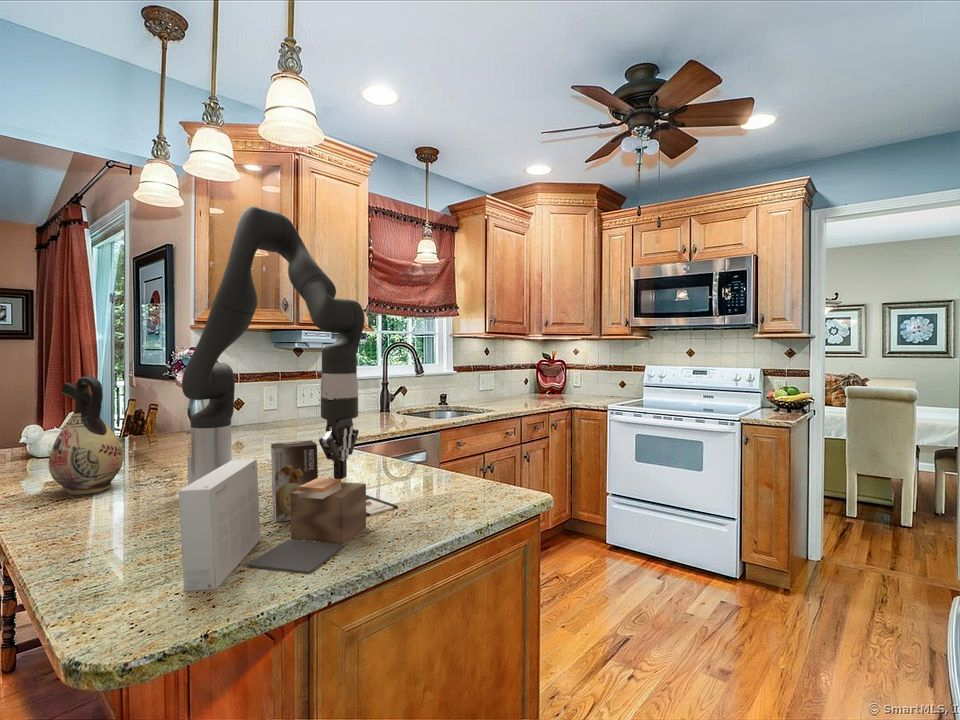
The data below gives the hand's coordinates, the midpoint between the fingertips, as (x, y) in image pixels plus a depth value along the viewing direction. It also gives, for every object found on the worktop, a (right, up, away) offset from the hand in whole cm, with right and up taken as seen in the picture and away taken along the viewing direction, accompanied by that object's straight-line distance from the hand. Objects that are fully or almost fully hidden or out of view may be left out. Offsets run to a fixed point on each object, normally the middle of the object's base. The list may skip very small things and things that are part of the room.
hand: (340, 478), depth 109 cm
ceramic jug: (-72, -10, +27) cm, 77 cm away
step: (-1, -10, -4) cm, 11 cm away
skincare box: (-15, -11, -18) cm, 26 cm away
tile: (-2, -1, -7) cm, 8 cm away
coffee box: (-12, -10, +7) cm, 17 cm away
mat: (-3, -11, -15) cm, 19 cm away
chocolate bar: (0, -10, +16) cm, 19 cm away
